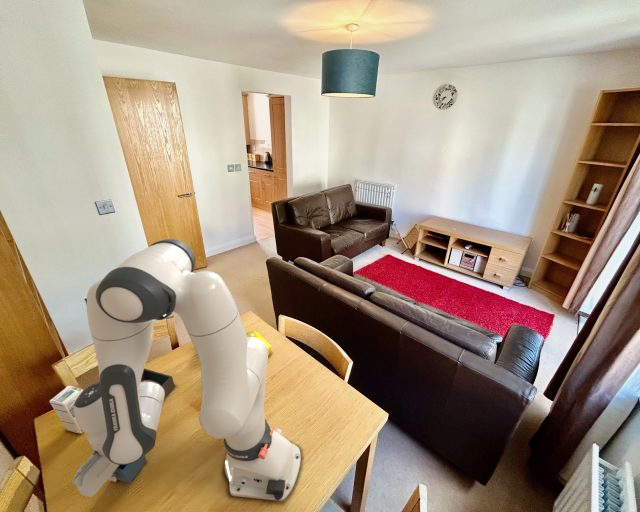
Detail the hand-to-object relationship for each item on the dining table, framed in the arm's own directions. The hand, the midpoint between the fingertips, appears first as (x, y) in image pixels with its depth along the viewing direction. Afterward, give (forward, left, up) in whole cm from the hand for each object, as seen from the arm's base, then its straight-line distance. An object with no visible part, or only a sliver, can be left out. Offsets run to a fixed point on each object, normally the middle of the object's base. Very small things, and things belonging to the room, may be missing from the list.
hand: (127, 463), depth 77 cm
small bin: (0, 0, -2) cm, 2 cm away
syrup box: (+27, -6, -3) cm, 27 cm away
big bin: (+15, -20, -3) cm, 25 cm away
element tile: (-10, -50, -3) cm, 51 cm away
